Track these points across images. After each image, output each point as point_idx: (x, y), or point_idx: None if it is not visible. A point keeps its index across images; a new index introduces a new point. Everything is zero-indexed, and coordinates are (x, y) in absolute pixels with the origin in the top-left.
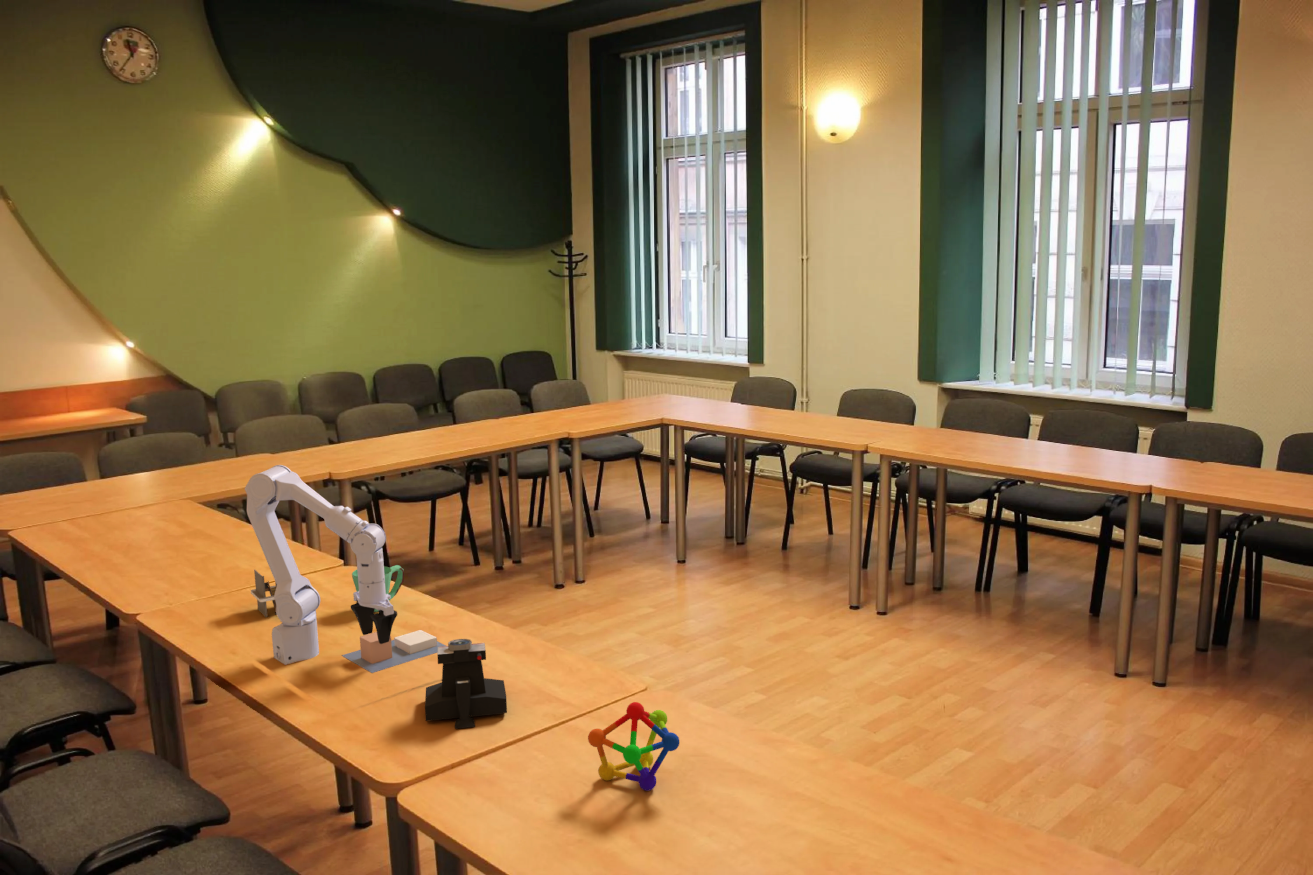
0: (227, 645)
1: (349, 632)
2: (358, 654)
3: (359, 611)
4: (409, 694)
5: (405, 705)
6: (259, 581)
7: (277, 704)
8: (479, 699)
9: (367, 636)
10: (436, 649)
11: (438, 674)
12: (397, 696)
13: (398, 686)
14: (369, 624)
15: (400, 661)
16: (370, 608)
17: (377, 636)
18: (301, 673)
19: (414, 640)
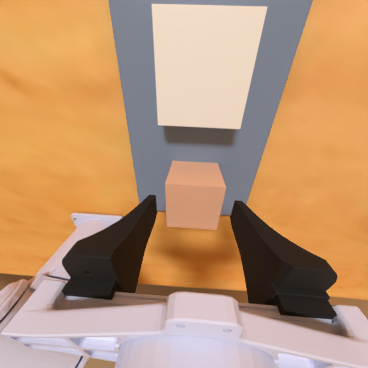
0: (20, 255)
1: (13, 135)
2: (155, 192)
3: (135, 277)
4: (347, 213)
5: (362, 232)
6: None
7: (213, 285)
8: None
9: (178, 217)
10: (275, 47)
11: (359, 137)
12: (330, 225)
13: (308, 208)
14: (149, 215)
15: (247, 163)
16: (129, 252)
17: (196, 205)
18: (156, 250)
19: (220, 95)
